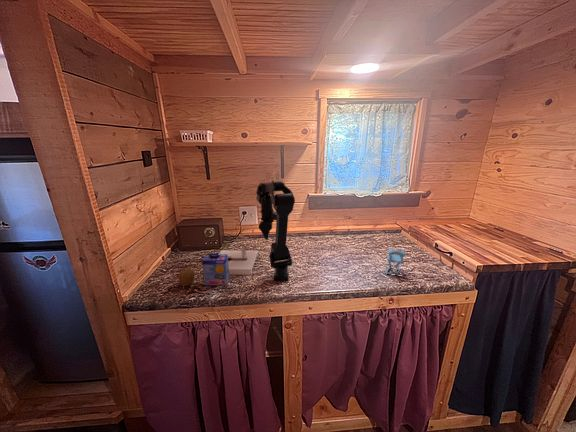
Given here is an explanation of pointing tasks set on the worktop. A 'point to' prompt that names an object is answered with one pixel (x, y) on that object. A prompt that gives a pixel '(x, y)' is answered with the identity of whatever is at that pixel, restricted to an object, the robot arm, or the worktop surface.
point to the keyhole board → (240, 261)
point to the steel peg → (244, 253)
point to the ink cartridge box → (215, 269)
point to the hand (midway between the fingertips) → (267, 236)
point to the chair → (395, 259)
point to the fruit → (186, 277)
